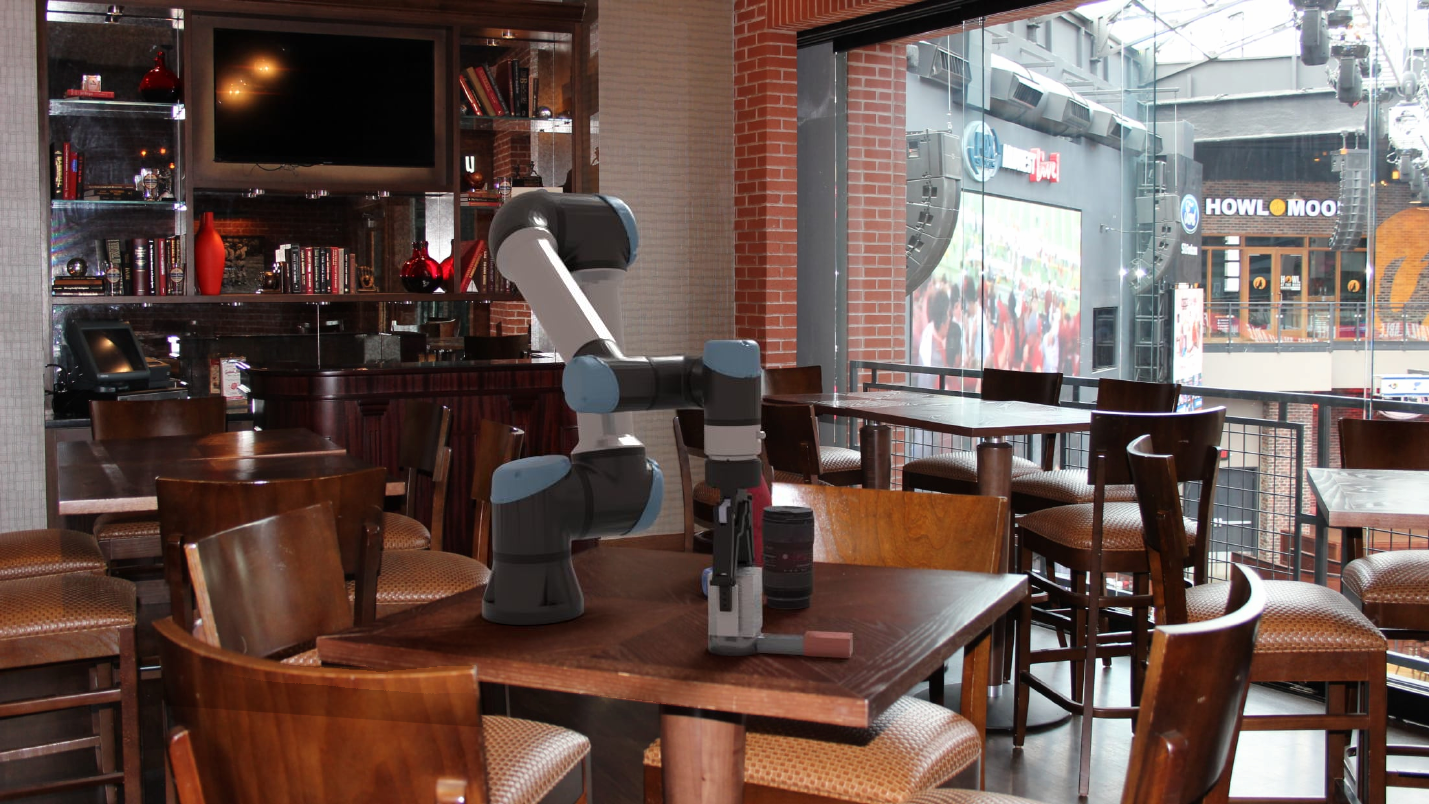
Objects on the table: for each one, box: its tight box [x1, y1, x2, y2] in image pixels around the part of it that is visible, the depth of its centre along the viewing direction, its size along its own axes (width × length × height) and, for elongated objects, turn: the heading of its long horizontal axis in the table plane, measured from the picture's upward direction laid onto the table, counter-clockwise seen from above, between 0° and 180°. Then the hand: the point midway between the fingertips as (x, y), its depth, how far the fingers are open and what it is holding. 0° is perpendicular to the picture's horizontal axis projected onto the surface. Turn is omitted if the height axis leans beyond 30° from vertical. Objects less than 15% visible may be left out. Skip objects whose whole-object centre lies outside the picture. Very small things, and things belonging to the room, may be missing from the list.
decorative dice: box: [701, 567, 713, 597], centre depth 197 cm, size 4×4×4 cm
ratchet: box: [707, 628, 854, 659], centre depth 162 cm, size 19×7×6 cm, turn 77°
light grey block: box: [707, 567, 763, 637], centre depth 163 cm, size 6×6×8 cm
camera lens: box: [761, 505, 816, 610], centre depth 189 cm, size 8×8×15 cm
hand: (734, 627), depth 163 cm, fingers open, 8 cm apart
